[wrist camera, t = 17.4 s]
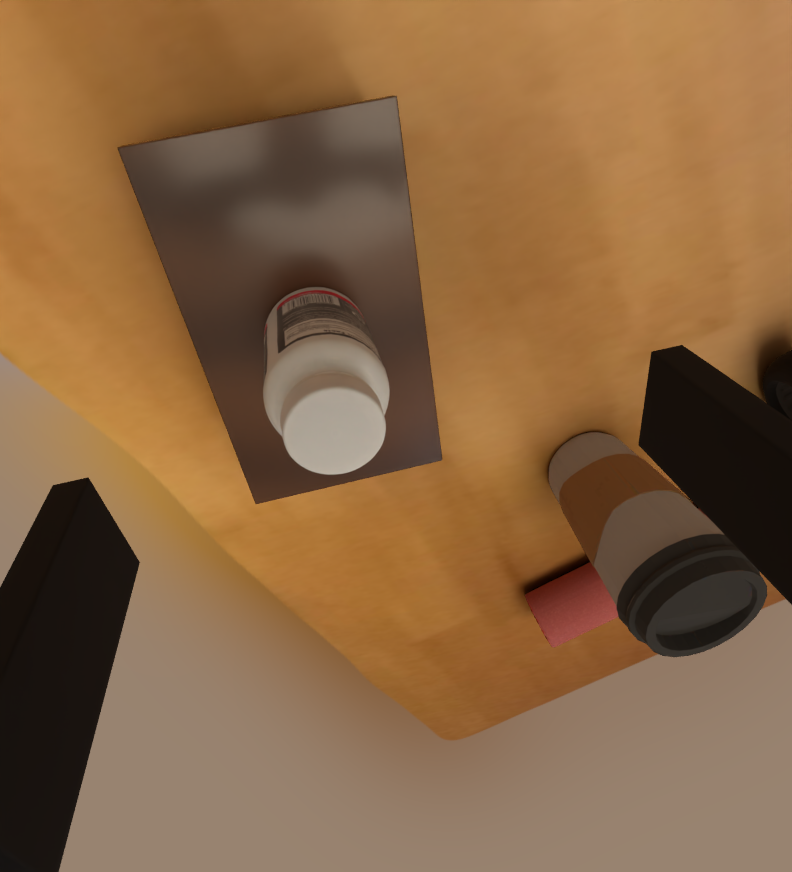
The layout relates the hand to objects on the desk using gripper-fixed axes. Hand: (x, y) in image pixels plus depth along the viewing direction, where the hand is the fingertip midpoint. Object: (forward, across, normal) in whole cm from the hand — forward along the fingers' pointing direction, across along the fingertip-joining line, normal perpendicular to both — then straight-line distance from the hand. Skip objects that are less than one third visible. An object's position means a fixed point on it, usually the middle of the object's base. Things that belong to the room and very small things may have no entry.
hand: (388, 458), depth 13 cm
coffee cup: (+21, +16, -21) cm, 34 cm away
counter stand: (+21, -2, -4) cm, 22 cm away
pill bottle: (+17, -2, -4) cm, 18 cm away
